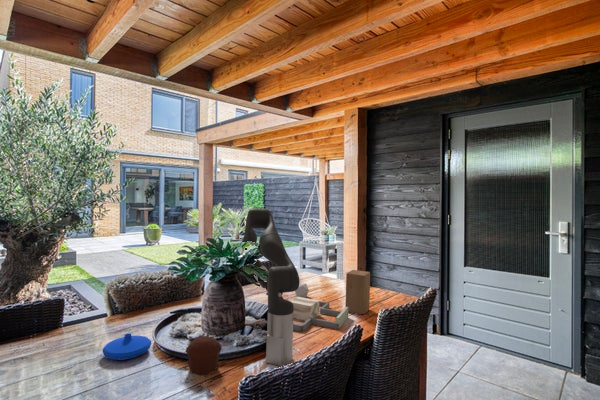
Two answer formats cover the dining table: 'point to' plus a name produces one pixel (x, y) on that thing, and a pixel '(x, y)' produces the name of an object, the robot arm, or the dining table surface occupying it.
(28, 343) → the dining table surface
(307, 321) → the box
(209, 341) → the muffin
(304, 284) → the die
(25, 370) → the dining table surface
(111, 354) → the blue knobbed lid
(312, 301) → the ash block
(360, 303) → the wooden block
